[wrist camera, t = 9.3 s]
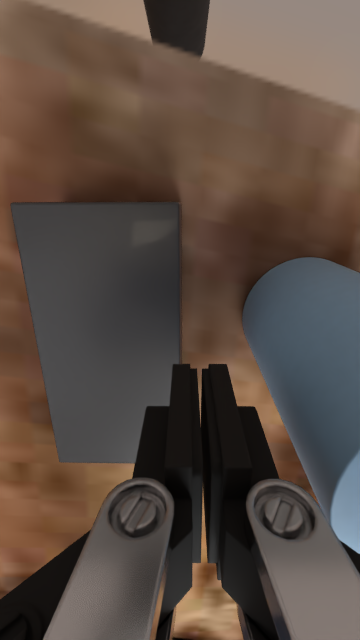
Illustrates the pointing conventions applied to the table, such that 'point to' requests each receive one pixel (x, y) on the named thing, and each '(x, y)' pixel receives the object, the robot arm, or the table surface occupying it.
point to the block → (103, 317)
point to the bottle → (314, 375)
